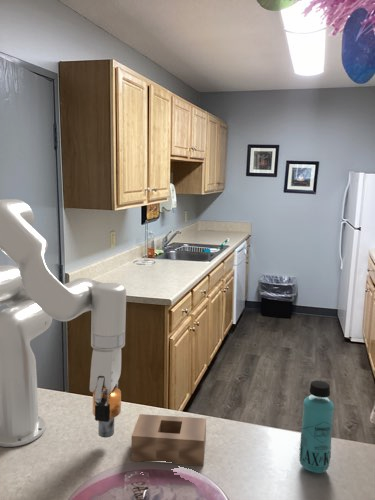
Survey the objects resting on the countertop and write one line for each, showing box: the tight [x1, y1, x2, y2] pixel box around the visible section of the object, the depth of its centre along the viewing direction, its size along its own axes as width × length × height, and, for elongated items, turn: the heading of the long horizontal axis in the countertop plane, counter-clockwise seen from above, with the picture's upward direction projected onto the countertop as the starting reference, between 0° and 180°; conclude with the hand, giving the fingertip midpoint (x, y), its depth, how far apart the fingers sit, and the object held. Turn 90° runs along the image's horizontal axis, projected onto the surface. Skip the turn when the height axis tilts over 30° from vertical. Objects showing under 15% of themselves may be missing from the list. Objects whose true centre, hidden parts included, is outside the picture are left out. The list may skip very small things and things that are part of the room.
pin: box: [92, 387, 122, 438], centre depth 99 cm, size 6×6×10 cm
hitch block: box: [131, 413, 207, 467], centre depth 98 cm, size 16×9×6 cm, turn 85°
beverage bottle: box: [299, 380, 335, 474], centre depth 91 cm, size 6×7×20 cm
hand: (106, 411), depth 99 cm, fingers closed on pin, 6 cm apart
